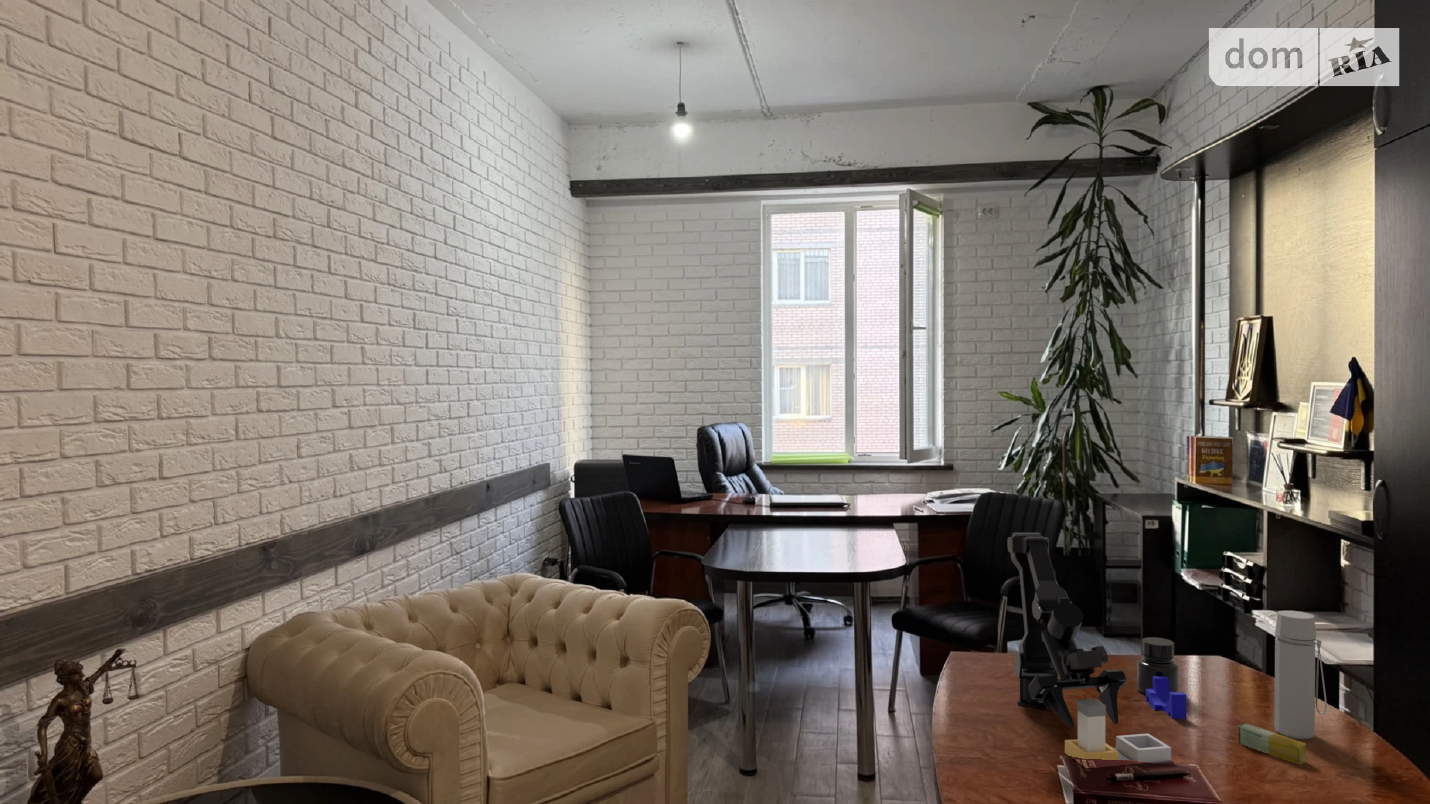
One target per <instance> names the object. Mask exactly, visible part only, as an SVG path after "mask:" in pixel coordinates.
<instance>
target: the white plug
mask: <svg viewBox="0 0 1430 804" xmlns="http://www.w3.org/2000/svg"><path fill="white" fill-rule="evenodd" d="M1076 701H1077V703H1076V705H1077V706H1076V707H1077V709H1076V710H1077V739H1078V747H1079V748H1080V749H1082V750H1083V751H1085V752H1086V753H1089V752H1101V751H1105V743H1106V717H1107V712H1106V705H1104V704H1103V703H1101V701H1100V700H1098V699H1096V698H1088V699H1087V698H1086V699H1077V700H1076Z"/></svg>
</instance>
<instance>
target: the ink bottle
mask: <svg viewBox="0 0 1430 804" xmlns="http://www.w3.org/2000/svg"><path fill="white" fill-rule="evenodd" d="M1141 644H1142V645H1141V654H1142V656H1143V657H1141V658H1140V659H1139V660H1138V661H1137V664H1136V666H1137V669H1136V671H1137V672H1136V674H1137V675H1136V676H1137V678H1136V679H1137V680H1136V682H1137V683H1136V685H1137V690H1138V691H1140V693H1142V694H1144V695H1146V689H1153V676H1162V677H1168V678H1169V687H1170V692H1180V689H1179V688H1180V667H1179V665H1178V664H1177V663H1176V662H1175V661H1174V659H1175V642H1174V641H1172V640H1171V639H1167V638H1162V637H1155V636H1154V637H1151V636H1150V637H1145V638H1142V639H1141Z"/></svg>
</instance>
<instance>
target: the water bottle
mask: <svg viewBox="0 0 1430 804" xmlns="http://www.w3.org/2000/svg"><path fill="white" fill-rule="evenodd" d="M1315 619H1316V618H1315V615H1313V614H1311V613H1307V612H1304V611H1297V610H1279V611H1278V612H1277V613H1276V624H1275V625H1276V626H1275V631H1274V636H1275V639H1274V644H1275V645H1274V729H1275V731H1276V732H1277V733H1279V735H1282V736H1285V737H1288V738H1289V737H1290V738H1291V739H1294V740H1309V739H1313V738H1314V736H1315V733H1316V716H1315V715H1316V711H1317V713H1319V715H1325V713H1326V710H1327V694H1326V686H1325V678H1324V671H1323V664H1322V655H1321V645H1322V640H1321V639H1317V628H1316V621H1315ZM1316 648H1317V659H1316ZM1316 660H1317V661H1316ZM1319 662H1320V664H1319ZM1319 665H1320V670H1321V680H1322V687H1323V695H1324V697H1323V698H1324V707H1323V711H1320V710H1319V709H1318V698H1319V695H1318V694H1319V693H1318V691H1319Z"/></svg>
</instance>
